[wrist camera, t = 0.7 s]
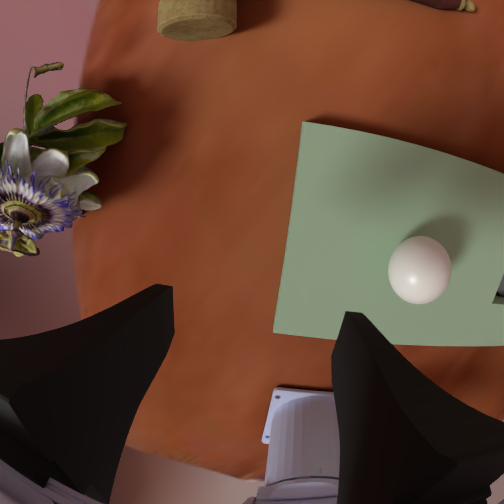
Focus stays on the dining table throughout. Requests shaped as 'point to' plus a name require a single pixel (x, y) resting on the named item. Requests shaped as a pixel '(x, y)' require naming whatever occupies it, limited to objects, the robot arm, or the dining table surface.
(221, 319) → the dining table surface
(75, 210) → the passion flower
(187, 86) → the dining table surface
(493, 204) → the putting mat
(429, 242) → the ball
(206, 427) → the dining table surface
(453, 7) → the gavel
